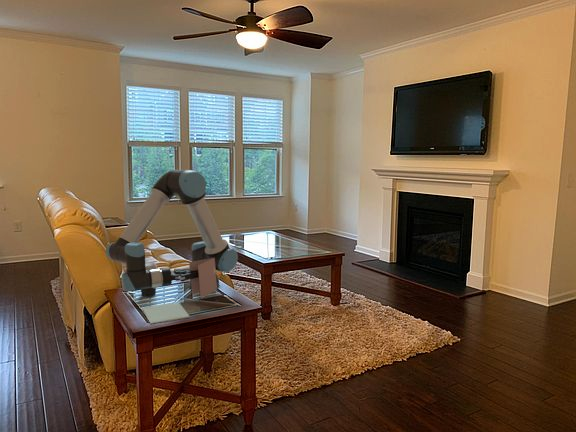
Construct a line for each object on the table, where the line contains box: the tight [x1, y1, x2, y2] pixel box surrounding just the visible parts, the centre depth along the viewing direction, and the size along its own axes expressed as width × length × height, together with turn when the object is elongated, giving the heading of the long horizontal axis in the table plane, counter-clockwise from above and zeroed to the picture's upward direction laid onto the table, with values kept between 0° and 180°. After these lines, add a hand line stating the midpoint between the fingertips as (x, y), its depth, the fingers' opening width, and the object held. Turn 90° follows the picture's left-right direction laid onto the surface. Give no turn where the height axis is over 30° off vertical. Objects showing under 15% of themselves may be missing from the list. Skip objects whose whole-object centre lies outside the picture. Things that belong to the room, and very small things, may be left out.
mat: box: [141, 301, 191, 325], centre depth 191 cm, size 20×16×1 cm
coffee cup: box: [140, 261, 159, 297], centre depth 214 cm, size 10×10×15 cm
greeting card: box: [188, 258, 218, 299], centre depth 194 cm, size 11×7×15 cm, turn 117°
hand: (214, 269), depth 198 cm, fingers closed
